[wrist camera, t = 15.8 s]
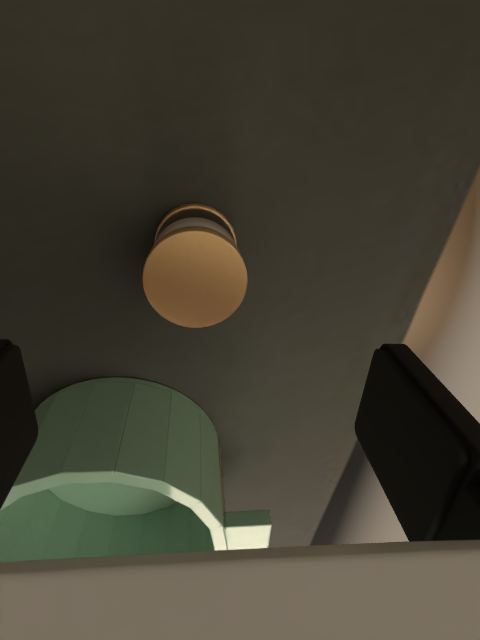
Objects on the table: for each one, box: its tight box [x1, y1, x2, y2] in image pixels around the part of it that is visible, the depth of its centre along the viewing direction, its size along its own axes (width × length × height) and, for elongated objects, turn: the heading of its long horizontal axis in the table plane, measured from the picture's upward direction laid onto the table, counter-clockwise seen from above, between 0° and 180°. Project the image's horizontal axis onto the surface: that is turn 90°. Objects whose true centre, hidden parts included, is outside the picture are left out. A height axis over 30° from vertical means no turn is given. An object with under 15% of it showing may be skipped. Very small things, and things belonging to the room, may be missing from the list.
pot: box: [0, 377, 272, 562], centre depth 24 cm, size 14×19×8 cm
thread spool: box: [143, 203, 248, 328], centre depth 18 cm, size 4×4×6 cm
